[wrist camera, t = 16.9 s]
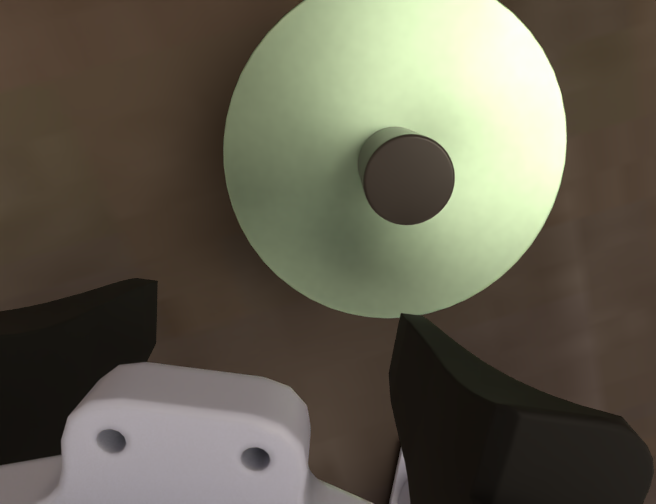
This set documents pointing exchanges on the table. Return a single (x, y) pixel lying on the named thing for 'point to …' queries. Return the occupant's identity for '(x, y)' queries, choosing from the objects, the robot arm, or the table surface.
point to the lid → (394, 150)
